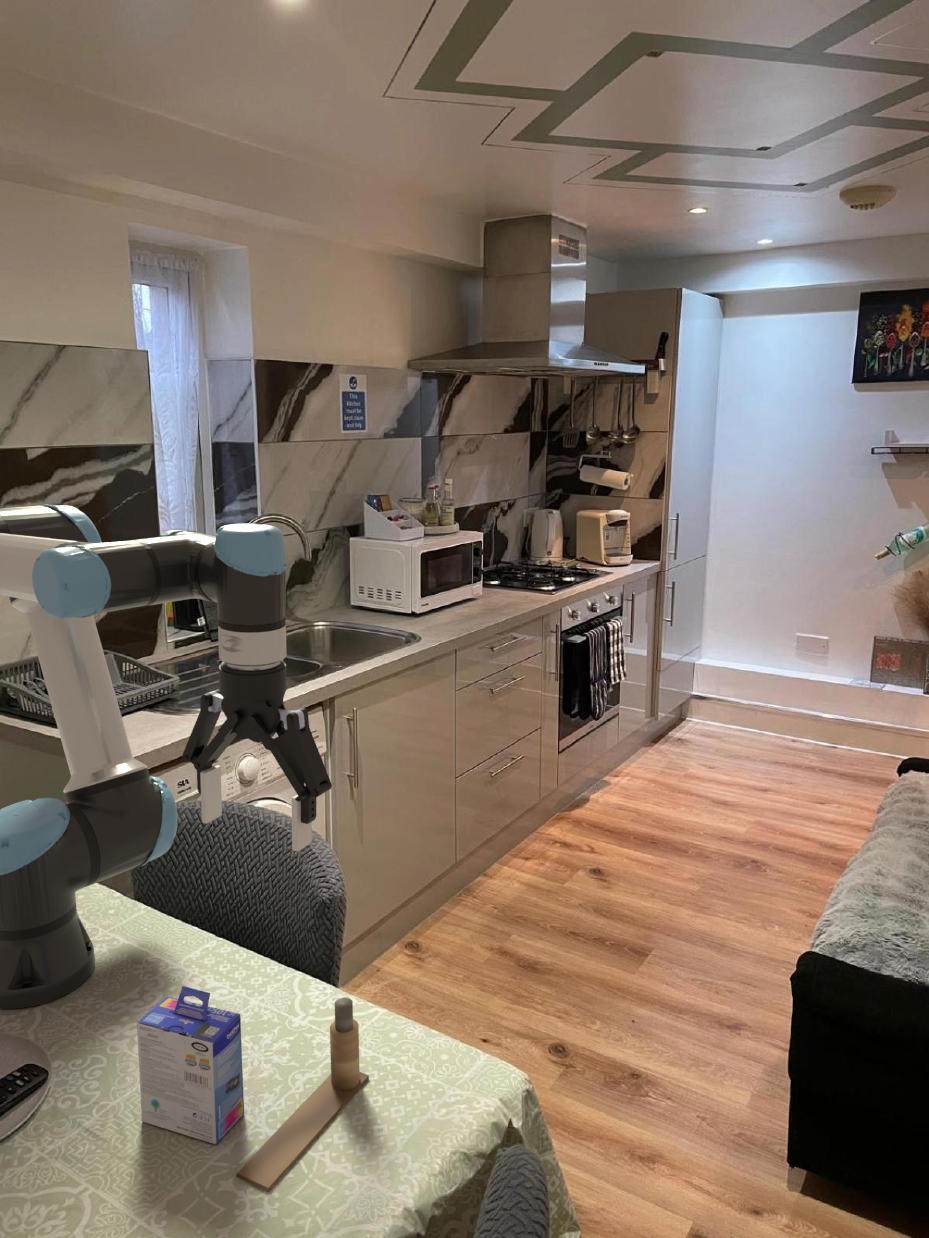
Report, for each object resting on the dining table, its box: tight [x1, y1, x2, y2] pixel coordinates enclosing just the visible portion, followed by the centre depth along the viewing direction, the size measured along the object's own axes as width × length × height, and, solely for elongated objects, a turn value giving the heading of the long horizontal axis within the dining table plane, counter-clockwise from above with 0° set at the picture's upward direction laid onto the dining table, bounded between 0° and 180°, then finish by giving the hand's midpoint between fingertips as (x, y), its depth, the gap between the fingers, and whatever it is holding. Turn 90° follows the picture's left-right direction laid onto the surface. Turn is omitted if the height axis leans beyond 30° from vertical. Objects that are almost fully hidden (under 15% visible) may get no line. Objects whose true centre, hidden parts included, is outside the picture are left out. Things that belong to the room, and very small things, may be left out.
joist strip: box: [236, 1071, 370, 1192], centre depth 99 cm, size 4×18×1 cm, turn 153°
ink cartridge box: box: [136, 985, 245, 1145], centre depth 99 cm, size 10×6×14 cm, turn 70°
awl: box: [329, 997, 360, 1091], centre depth 104 cm, size 3×3×10 cm
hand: (255, 832), depth 110 cm, fingers open, 13 cm apart
